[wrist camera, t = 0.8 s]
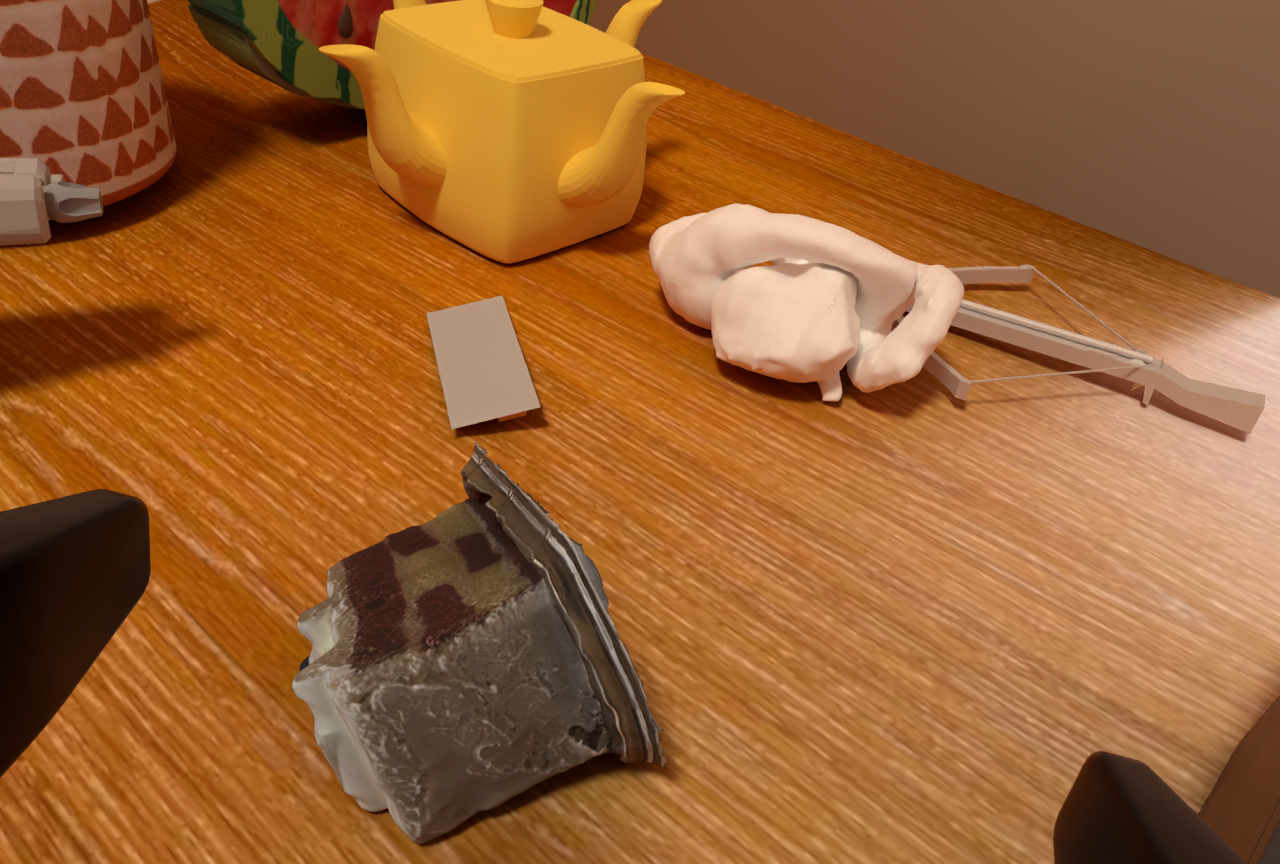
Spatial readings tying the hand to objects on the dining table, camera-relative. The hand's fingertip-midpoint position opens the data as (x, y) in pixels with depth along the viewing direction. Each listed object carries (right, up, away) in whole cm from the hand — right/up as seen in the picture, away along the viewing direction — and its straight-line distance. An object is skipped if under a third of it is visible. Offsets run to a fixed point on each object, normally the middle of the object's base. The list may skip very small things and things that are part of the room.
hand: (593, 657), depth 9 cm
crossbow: (+18, +5, +34) cm, 39 cm away
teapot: (-6, +13, +40) cm, 42 cm away
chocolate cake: (-5, -4, +18) cm, 19 cm away
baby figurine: (+8, +11, +33) cm, 35 cm away
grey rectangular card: (-6, +5, +28) cm, 29 cm away
